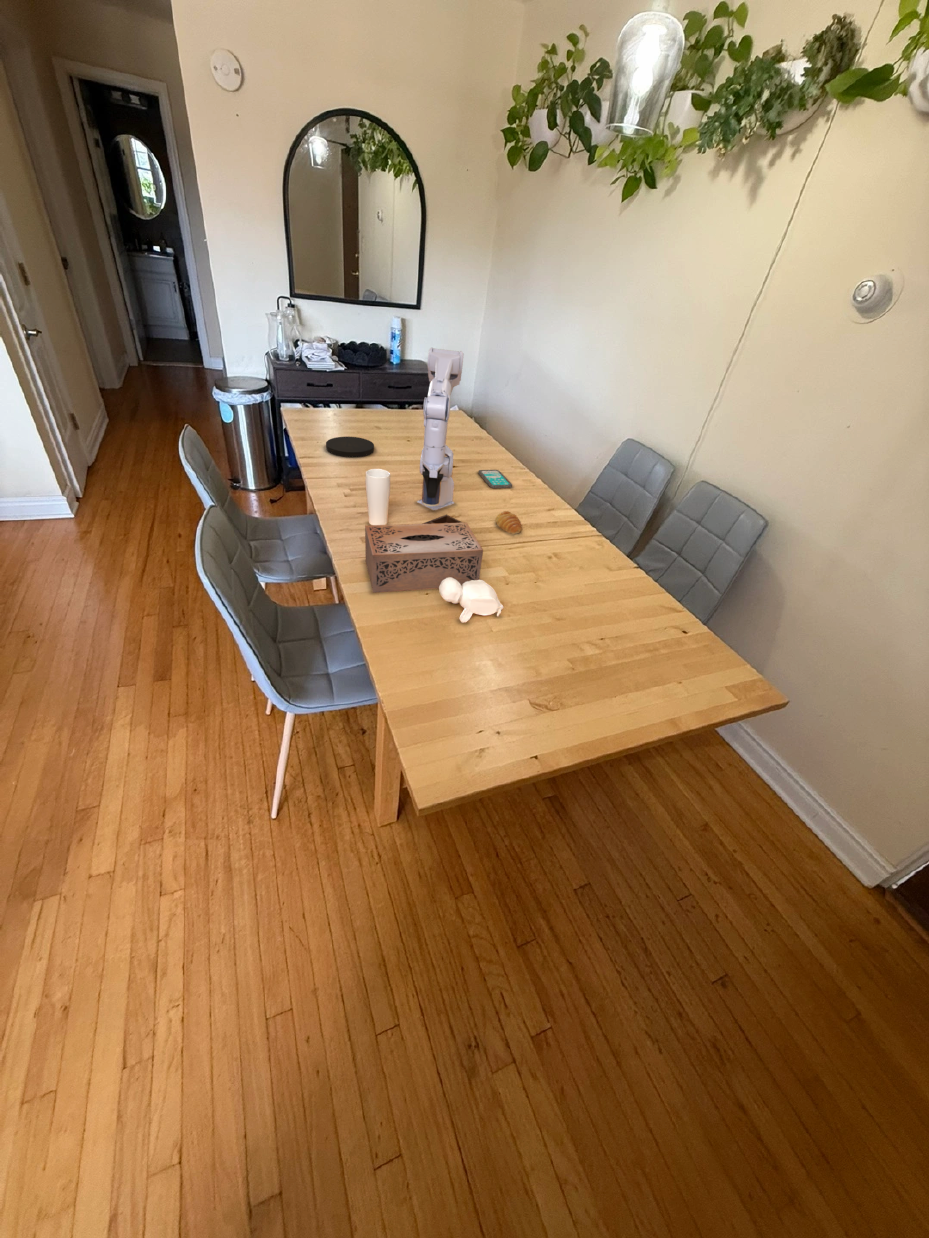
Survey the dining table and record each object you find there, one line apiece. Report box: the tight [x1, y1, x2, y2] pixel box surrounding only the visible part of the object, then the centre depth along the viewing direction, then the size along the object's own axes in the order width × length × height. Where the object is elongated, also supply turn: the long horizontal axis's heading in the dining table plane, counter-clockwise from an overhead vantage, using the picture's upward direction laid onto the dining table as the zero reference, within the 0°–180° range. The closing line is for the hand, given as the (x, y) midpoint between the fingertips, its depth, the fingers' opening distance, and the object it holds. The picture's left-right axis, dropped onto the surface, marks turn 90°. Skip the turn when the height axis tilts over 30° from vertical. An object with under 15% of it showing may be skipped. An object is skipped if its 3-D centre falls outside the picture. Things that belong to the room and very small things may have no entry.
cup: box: [421, 477, 441, 507], centre depth 141 cm, size 5×5×8 cm
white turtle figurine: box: [438, 577, 504, 624], centre depth 114 cm, size 9×8×15 cm
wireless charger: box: [325, 436, 375, 459], centre depth 193 cm, size 18×18×2 cm
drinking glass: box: [364, 468, 391, 525], centre depth 142 cm, size 7×7×15 cm
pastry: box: [495, 510, 523, 535], centre depth 152 cm, size 9×7×4 cm
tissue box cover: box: [364, 522, 484, 594], centre depth 124 cm, size 26×14×10 cm, turn 105°
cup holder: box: [421, 514, 464, 524], centre depth 144 cm, size 8×15×2 cm, turn 138°
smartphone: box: [478, 469, 513, 489], centre depth 183 cm, size 9×1×15 cm
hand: (431, 493), depth 142 cm, fingers closed on cup, 5 cm apart
